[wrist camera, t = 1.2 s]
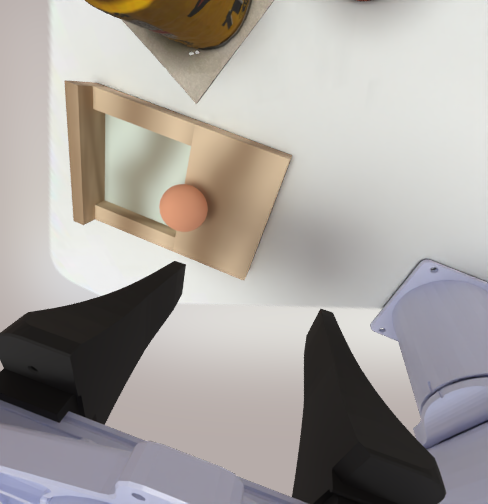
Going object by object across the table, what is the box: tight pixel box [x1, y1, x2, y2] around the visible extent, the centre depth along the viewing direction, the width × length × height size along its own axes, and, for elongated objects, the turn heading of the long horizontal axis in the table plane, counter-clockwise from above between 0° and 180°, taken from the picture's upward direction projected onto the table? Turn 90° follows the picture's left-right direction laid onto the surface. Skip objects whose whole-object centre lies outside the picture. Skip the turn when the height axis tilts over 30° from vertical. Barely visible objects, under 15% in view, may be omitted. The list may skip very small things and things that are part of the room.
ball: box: [159, 184, 208, 232], centre depth 20 cm, size 4×4×4 cm
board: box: [65, 81, 292, 280], centre depth 22 cm, size 16×11×3 cm
